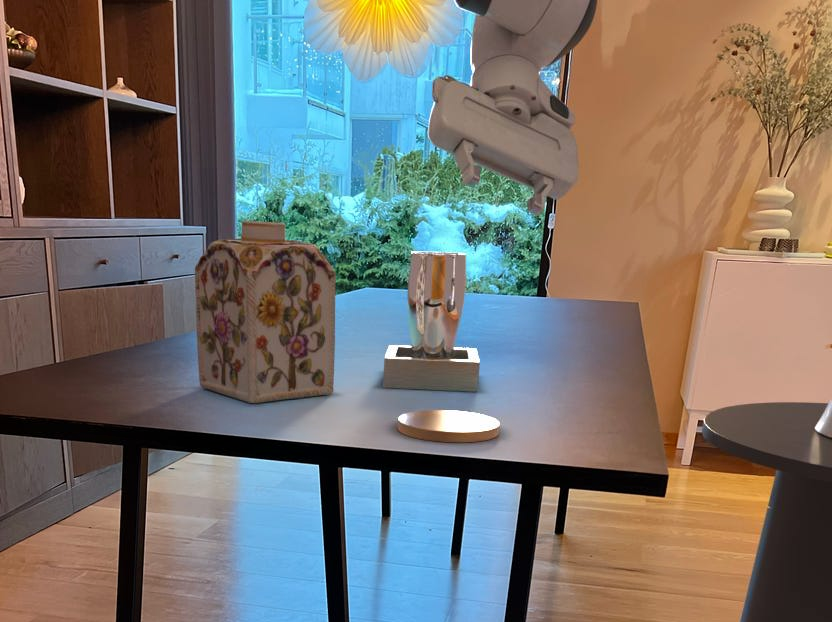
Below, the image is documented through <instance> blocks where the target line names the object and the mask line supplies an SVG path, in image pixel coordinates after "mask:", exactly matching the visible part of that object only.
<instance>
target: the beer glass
mask: <svg viewBox="0 0 832 622" xmlns="http://www.w3.org/2000/svg"><path fill="white" fill-rule="evenodd" d="M466 279H467V254H466V253H463V252H462V253H461V252H448V251H411V252H410V264H409V272H408V280H407V315H408V323H409V332H410V333H409V334H410V346H411V358H429V359H452V360H453V353H454V348H455V345H456V340H457V335H458V332H459V327H460V324H461V321H462V320H461V319H462V315H463V310H464V306H465V296H466V283H467V282H466V281H467V280H466Z"/></svg>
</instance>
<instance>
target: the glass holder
mask: <svg viewBox="0 0 832 622" xmlns="http://www.w3.org/2000/svg"><path fill="white" fill-rule="evenodd" d="M480 364H481V362H480V358H479V354H478V350H477V348H469V347H466V348H465V347H464V348H463V347H454V353H453V360H452V359H429V358H411V345H397V344H395V345H394V344H391V345H390V344H389V345H388V348H387V350H386V353H385V355H384V358H383V377H382V378H383V379H382V380H383V381H382V387H383V388H384V389H404V390H424V391H425V390H427V391H444V392H445V391H446V392H447V391H448V392H466V393H467V392H468V393H477V392H478V389H479V388H478V387H479V376H480V366H481V365H480Z"/></svg>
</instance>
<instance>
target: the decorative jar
mask: <svg viewBox="0 0 832 622" xmlns="http://www.w3.org/2000/svg"><path fill="white" fill-rule="evenodd" d="M197 261H198V262H197V263H196V265H195V267H194V289H195V293H194V294H195V320H196V321H195V322H196V324H195V325H196V348H197V363H198V365H197V367H198V380H199V385H200V387H201V388H202V389H206V390H209V391H211V392H215V393H218V394H221V395H224V396H227V397H229V398H233V399H236V400H239V401H242V402H246V403H249V404H253V405H254V404H262V403H268V402H277V401H284V400H294V399H303V398H310V397H319V396H328V395H332V394H333V393H334V384H335V383H334V382H335V379H334V378H335V351H336V280H337V279H336V278H337V276H336V271H335V270H334V269H333V267H332V266H331V264H330V263H329V261H328V260H327V259H326V258H325V256H324V254H323V253H322V252H321V250H320V249H319V248H318V246H317V245H316V244H313V243H309V242H304V241H300V240H295V239H294V240H291V239H289V240H288V239H286V224H285V223H284V222H275V221H257V220H243V221H242V222H241V238H225V239H218V240H215V241H212V242H211V243H210V244H209V245H208V247H207V248H206V249H205V250H204V252H203V254H202V255H201V256H200V257H199V259H198V260H197Z"/></svg>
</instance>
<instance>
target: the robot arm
mask: <svg viewBox="0 0 832 622" xmlns="http://www.w3.org/2000/svg"><path fill="white" fill-rule="evenodd" d="M453 1H454V4H455V5H456V8H458V9H461V10H463V11H466V12H468V13H471V14H473V15H475V17H474V21H473V27H472V34H471V40H470V41H471V42H470V66H471V67H470V68H471V70H472V74H471V78H470V83H469V84H468V83H465V82H463V81H459V80H457V79H456V78H455V77H453V76H451V75H447V74H445V75H444V76H437V77H435V78H434V79H433V80H432V84H431V97H432V100H433V105H432V107H431V111H430V116H429V121H428V128H427V137H428V139H429V141H430V143H431V144H432V146H434V147H435V148H438V149H440V150H443V151H444V152H446V153H450V154H451V155H453V160H454V162H455V163H456V165H457V167H458V169H459V171H460V173H461V174H462V175H461V184H462V185H464V186H466V187H468V188H471V189H475V188H476V186H477V185H478V184H479V183H480V181H481V173H482V168H483V169H485V170H488V171H490V172H492V173H495V174H496V175H499V176H502V177H504V178H506V179H508V180H510V181H513V182H515V183H518V184H519V185H522V186H524V187H526V188H529V189H530V190H533V194H532V195H531V197H529V199H528V200H527V201H526V212H527V213H530V214H532V215H534V216H536V217H538V216H540V215H541V214H542V213H543V212H544V210H545V208H546V197H549V198H551V199H553V200H556V201H557V200H560V199H562V198H563V197H564V196H565V195H566V194H568V193H569V192H570V191H571V190H572V188H574V186H575V185H576V183H577V182H578V179H579V172H580V171H579V170H580V169H579V151H578V144H577V140H576V137H575V135H574V133H573V132H572V130H571V129H572V127H573V126H574V124H575V122H576V115H575V112H574V111H573V110H572V108H570V107H569V106H567V104H565V103H564V102H563V101H562V100H561V99H560V98H559V97H558V96H557V95H556V94H555V93H554V92H553V91H552V90H551V89H550V88H549V86H548V85H547V84H546V82H545V81H543V80H542V78H541V77H542V76H541V71H542V70H543V68H544V67H545V68H547V67H550V66H551V65H554V64H555V63H557V62H558V61H559V60H560V59H562V58H563V57H565V56H566V55H567V54H568V53H570V52H571V51H572V50H573V49H575V48H576V47H577V45H579V43H581V41H582V40H583V38H584V37H585V36H586V35H587V33H588V31H589V30H590V28H591V26H592V23H593V20H594V18H595V14H596V11H597V5H598V0H453ZM827 403H828V405H827V407H826V409H825V411H824V413H823V415H822V416H821V418H820V420H819V421H818V423H817V424H816V426H815V430H816V431H818V432H819V433H821V434H823V435H825V436H828V437H830V438H832V396H831V398H830V399H829V402H827Z"/></svg>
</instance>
